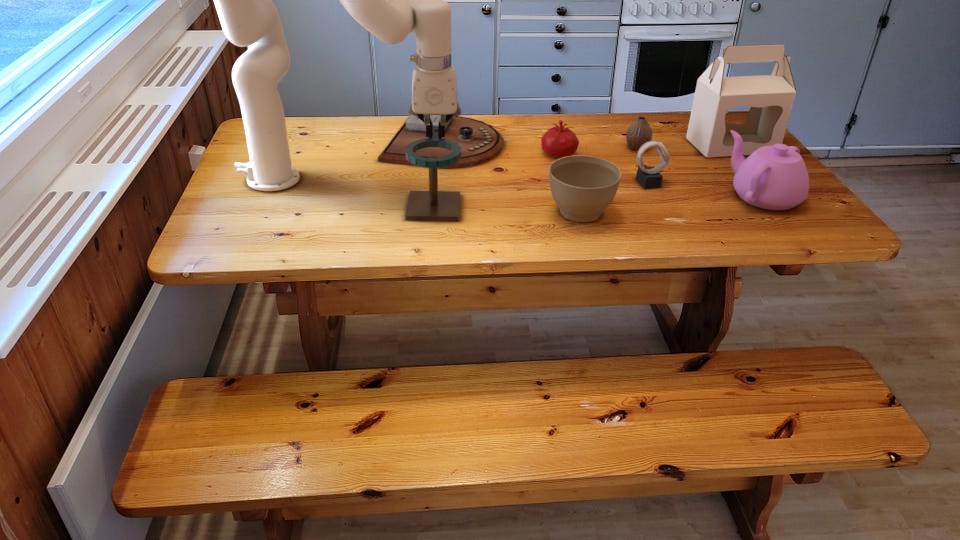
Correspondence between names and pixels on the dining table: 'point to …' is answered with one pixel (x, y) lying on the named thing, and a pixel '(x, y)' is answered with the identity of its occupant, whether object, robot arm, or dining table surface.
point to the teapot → (770, 175)
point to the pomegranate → (559, 141)
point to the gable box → (742, 102)
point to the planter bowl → (583, 186)
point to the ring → (433, 142)
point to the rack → (433, 202)
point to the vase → (638, 133)
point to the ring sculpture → (651, 175)
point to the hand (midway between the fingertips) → (435, 139)
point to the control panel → (466, 132)
